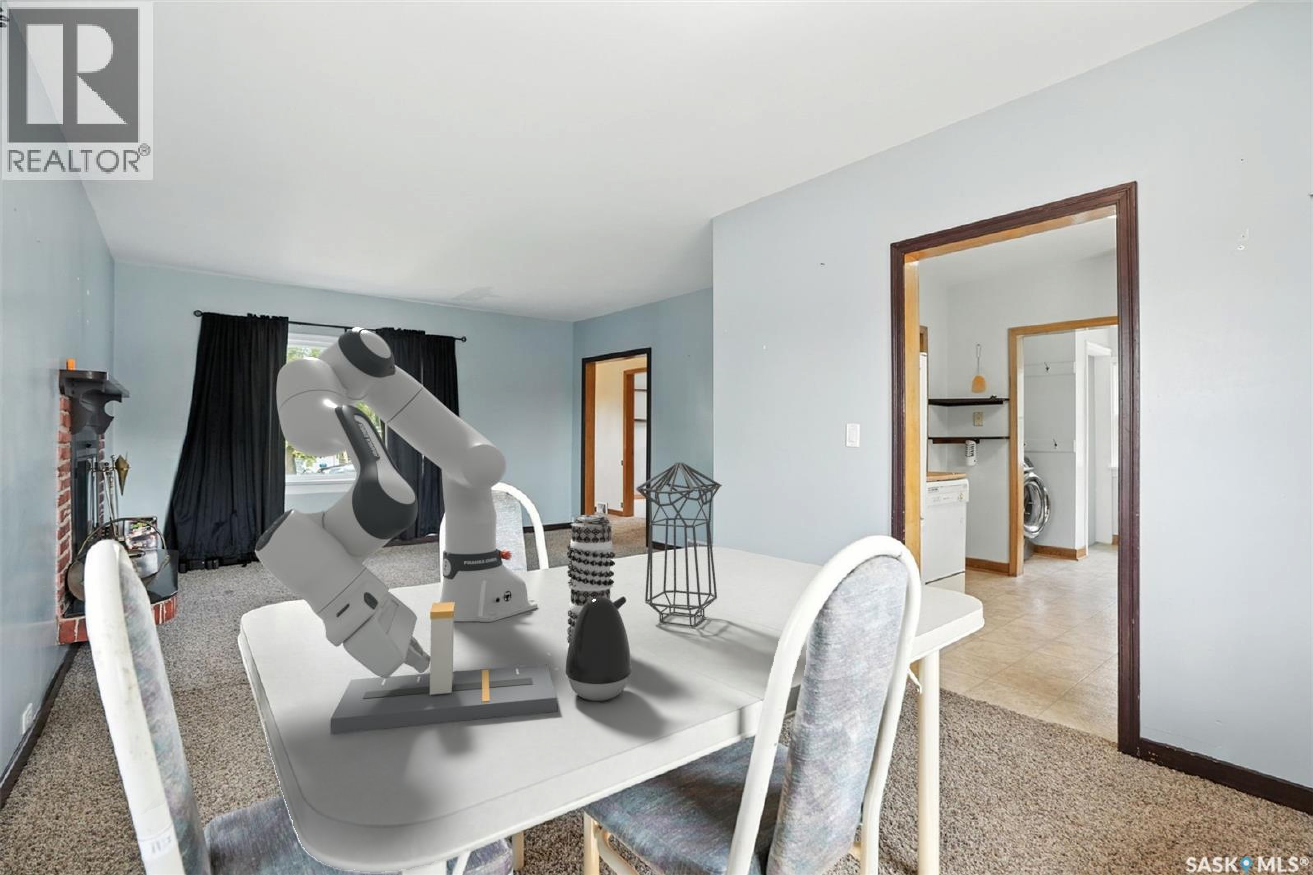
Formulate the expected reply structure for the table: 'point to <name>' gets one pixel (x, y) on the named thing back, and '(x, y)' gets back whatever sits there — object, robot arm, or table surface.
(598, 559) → the decorative candle
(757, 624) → the table surface
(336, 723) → the console board
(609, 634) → the pump dispenser
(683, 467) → the geometric lantern
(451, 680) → the fader tab
